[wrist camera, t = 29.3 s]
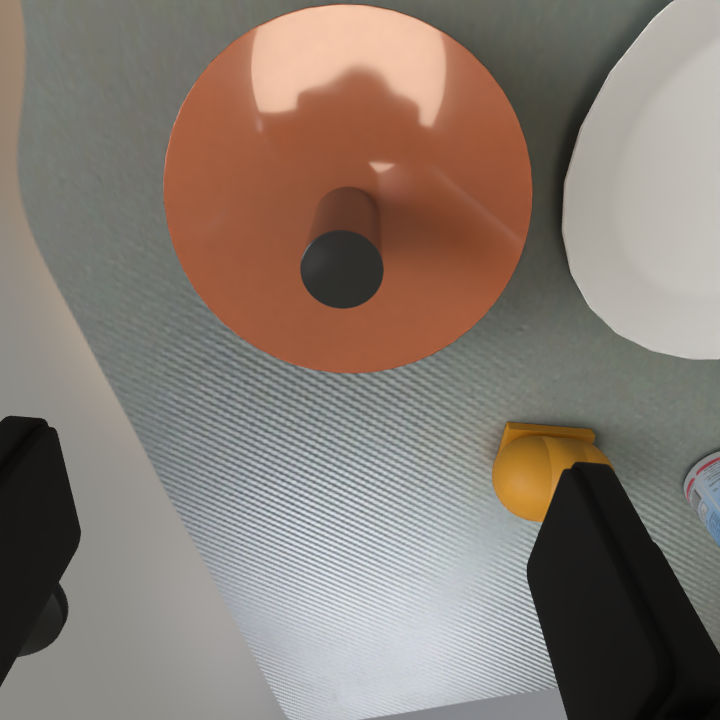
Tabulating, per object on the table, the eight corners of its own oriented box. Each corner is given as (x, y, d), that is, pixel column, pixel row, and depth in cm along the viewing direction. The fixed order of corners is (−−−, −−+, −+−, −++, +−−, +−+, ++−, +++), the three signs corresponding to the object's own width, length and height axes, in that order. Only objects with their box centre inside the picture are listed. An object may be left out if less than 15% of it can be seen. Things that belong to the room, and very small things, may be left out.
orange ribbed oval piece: (477, 474, 41) (492, 536, 36) (494, 413, 38) (513, 472, 33) (584, 482, 41) (613, 546, 36) (608, 423, 38) (644, 483, 33)
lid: (184, 349, 30) (136, 432, 24) (153, -19, 21) (66, -36, 15) (484, 375, 30) (513, 463, 24) (572, 28, 22) (650, 29, 16)
